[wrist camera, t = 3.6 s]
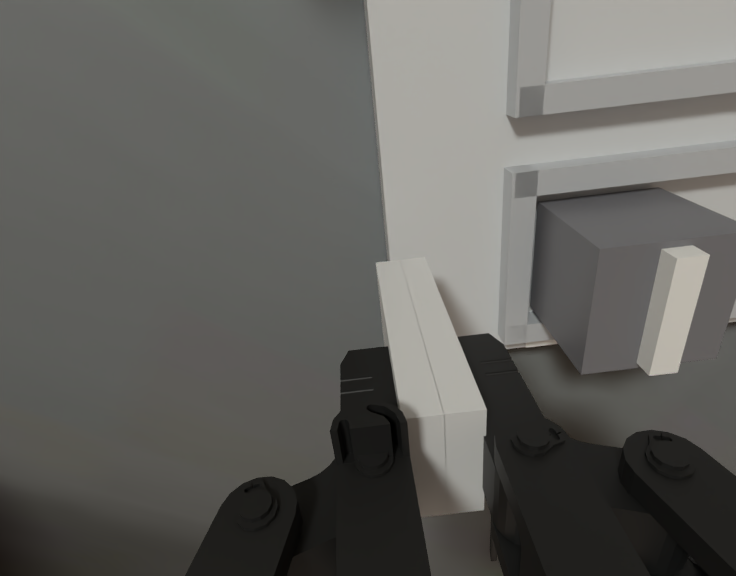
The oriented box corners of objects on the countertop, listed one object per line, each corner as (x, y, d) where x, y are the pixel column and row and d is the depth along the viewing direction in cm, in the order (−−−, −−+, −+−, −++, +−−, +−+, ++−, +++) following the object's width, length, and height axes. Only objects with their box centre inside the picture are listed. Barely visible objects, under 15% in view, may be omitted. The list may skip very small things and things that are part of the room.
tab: (529, 306, 17) (591, 388, 13) (537, 201, 15) (612, 259, 11) (637, 293, 17) (732, 371, 13) (658, 187, 15) (778, 239, 11)
